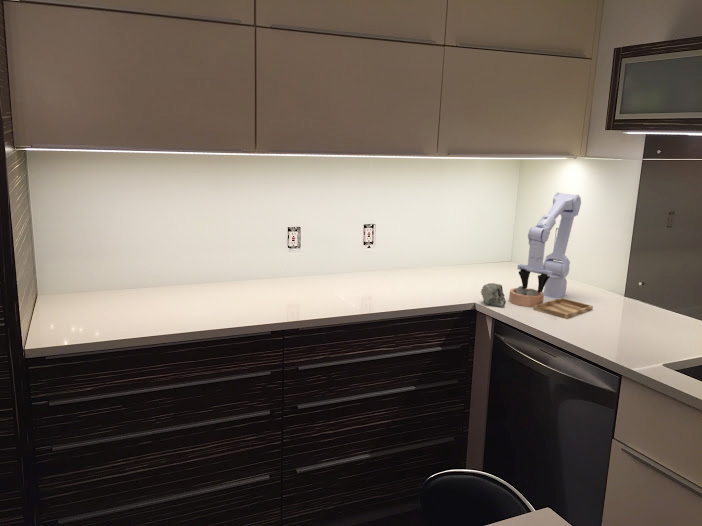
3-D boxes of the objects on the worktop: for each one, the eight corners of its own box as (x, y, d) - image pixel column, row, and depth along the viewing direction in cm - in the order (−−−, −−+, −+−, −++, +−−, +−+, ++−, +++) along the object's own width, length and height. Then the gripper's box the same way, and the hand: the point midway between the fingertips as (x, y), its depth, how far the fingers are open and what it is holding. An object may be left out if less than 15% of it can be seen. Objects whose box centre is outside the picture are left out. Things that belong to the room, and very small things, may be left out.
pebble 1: (520, 298, 252) (521, 284, 251) (528, 300, 249) (529, 286, 247) (513, 299, 250) (514, 285, 249) (521, 301, 246) (522, 288, 245)
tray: (560, 302, 250) (560, 297, 250) (592, 311, 240) (593, 306, 240) (533, 311, 237) (534, 305, 237) (566, 320, 227) (567, 314, 227)
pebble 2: (528, 300, 249) (530, 287, 247) (538, 303, 245) (540, 289, 244) (523, 302, 246) (524, 288, 244) (532, 305, 242) (534, 291, 241)
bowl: (520, 297, 257) (521, 286, 256) (548, 304, 247) (550, 293, 246) (502, 302, 248) (503, 290, 247) (531, 310, 238) (532, 298, 237)
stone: (508, 281, 241) (482, 278, 244) (505, 301, 236) (479, 298, 238) (506, 294, 249) (481, 291, 251) (503, 315, 243) (478, 311, 245)
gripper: (514, 254, 244) (511, 287, 247) (547, 261, 234) (543, 295, 236) (524, 253, 249) (521, 285, 252) (556, 259, 238) (552, 292, 241)
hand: (532, 290), depth 244 cm, fingers open, 6 cm apart
